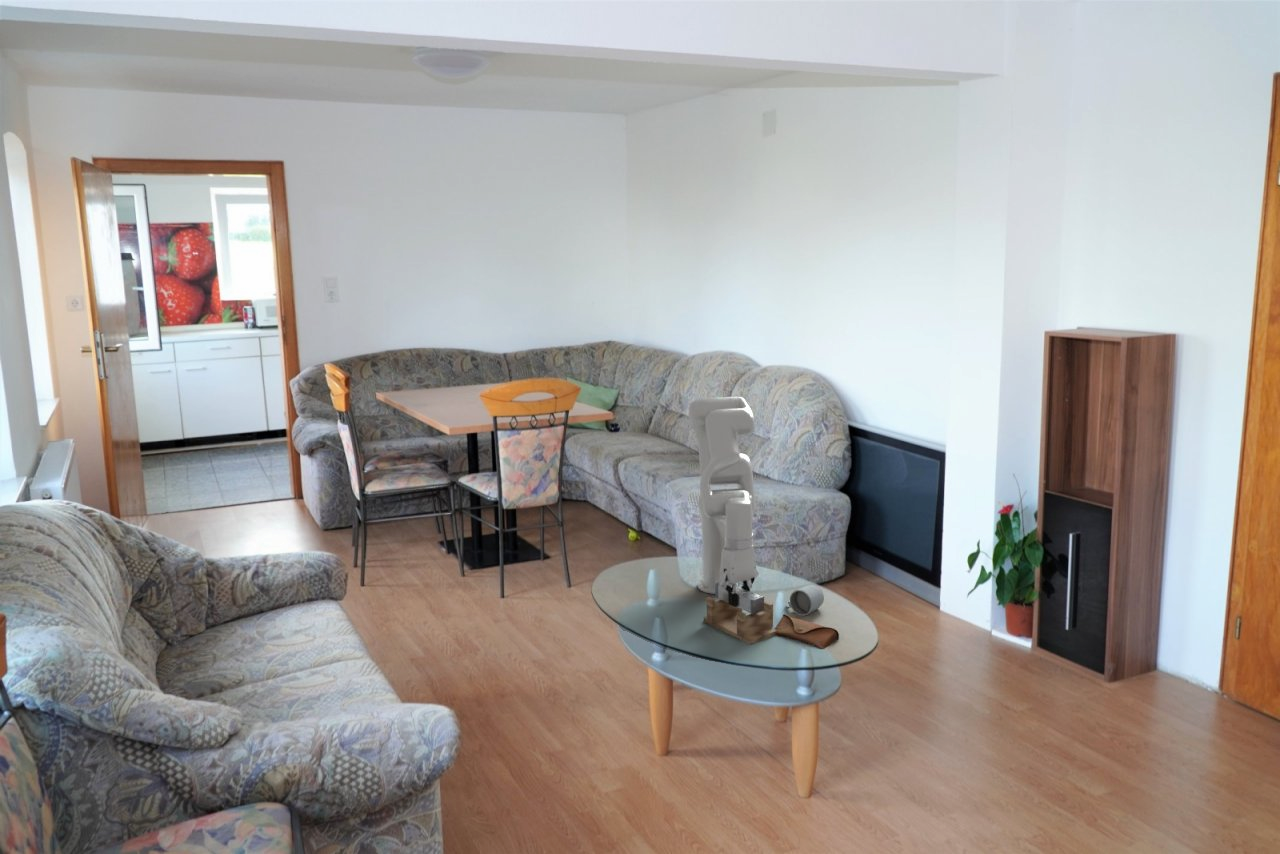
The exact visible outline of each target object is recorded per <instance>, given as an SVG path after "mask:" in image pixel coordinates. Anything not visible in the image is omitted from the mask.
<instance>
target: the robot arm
mask: <svg viewBox="0 0 1280 854" xmlns="http://www.w3.org/2000/svg"><path fill="white" fill-rule="evenodd" d="M688 415H689V416H688V417H689V421H690V425H691V428H692V431H693V433H694V435H695V437H696V440H697V445H698V446H697V447H698V460H699V470H700V471H699V472H700V477H701V478H700V480H699V481H700V483H699V490H700V495H699V497H698V501H697V502H698V510H699V517H700V525H701V553H702V554H701V555H702V557H701V558H702V561H701V562H702V563H701V564H702V579H700V580H698V582H697V587H698V590H699V591H701V592H703V593H705V594H711V595H715V583H718V582H720V583H719V586H721V587H723V588H724V589H725V590H726V591H727V592H728V603H729V604H730V605H732V606H734V607H737V593H736V587H737V586H739V583H741V584H742V585H741V586H740V587H742V588H744V589H746V590H748V591H751V589H752V587H753V583H755V581H756V580H755V579H757V577H758V576H759V571H758V569H757V558H756V551H755V546H754V544H753V539H754V538H755V535H754V533H753V516H754V515H755V513H756V496H755V495H756V494H755V487H754V486H755V485H754V484H755V483H754V474H753V466H752V465H753V464H752V462H751V461H752V460H751V459H750V458H749V456H748V455H747V454H745V453H741V452H740V449H739V445H738V444H739V442H738V437H749V436H752V435H753V434H754V432H755V430H756V421H755V416H754V414H753V411H752V409H751V407H750V405H749V404H748V403H747V401H746V400H745V398H744V397H742V396H719V397H718V396H717V397H703V398H699V399H694V400H693V401H692V402H691V403H690V404H689V407H688ZM724 485H726V486H727V485H736V486H737V488H723V489H722V488H721V489H719V488H718V489H711V486H724ZM726 582H727V584H726ZM731 584H732V588H731Z"/></svg>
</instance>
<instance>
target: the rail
mask: <svg viewBox="0 0 1280 854" xmlns="http://www.w3.org/2000/svg"><path fill="white" fill-rule="evenodd" d="M719 583H720V582H718V583H715V594H714V596H715V598H716V599H719V600H723V601H725V602H727V603H728V592H727V591H726V590H725V589H724V588H723V587H721V586H719ZM726 584H727V582H726ZM731 588H732V584H731ZM736 593H737V607H738V608H740V609H742V611H745V612H747V613H749V614H756V613H759V612H762V611H764V602H765V596H764V595H760V594H758V593H755V592H753V591H751V590H750V591H748V590H746V589H744V588H742V587H741V586H740V585H738V586H737V587H736Z"/></svg>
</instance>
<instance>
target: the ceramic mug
mask: <svg viewBox="0 0 1280 854" xmlns="http://www.w3.org/2000/svg"><path fill="white" fill-rule="evenodd" d="M824 597H825V595H824V593H823V590H821V588H820V587H819V586H817V585H813V584H810V585H806V586H803V587H801V588H799V589H796V590H793V592H791V594H790V596H789V600H790V602H788V604H789V606H790V607H789V608H791V609H792V611H793V612H794V613H796V614H797V615H798V616H808V615H809V614H811V613H812V612H814V611H816V610H817V609H819V608H820V607H821V606H822V605H823V603H824V601H825V598H824Z"/></svg>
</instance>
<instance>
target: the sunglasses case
mask: <svg viewBox="0 0 1280 854" xmlns="http://www.w3.org/2000/svg"><path fill="white" fill-rule="evenodd" d="M774 629H775V630H777V632H776V635H775V636H778V637H781V638H782V637H783V638H786V639H790V640H793V641H797V642H799V643H802V644H803V643H804V644H806V645H809V646H813V647H815V648H818V649H821V650H825V649H826V648H828V647H829V646H830V645H832V644H833V643H834V642H836V641H837V640H838V641H839V639H840V633H839V632H838V630H837V629H835V628H833V627H828V626H823V625H821V624H817V623H814V622H810V621H807V620H804V619H799V618H796V617H792V616H790V615H788V614H783V615H782V617H781V618H780V620H779V621H778V623H777V624H776V626H775V627H774Z"/></svg>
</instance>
